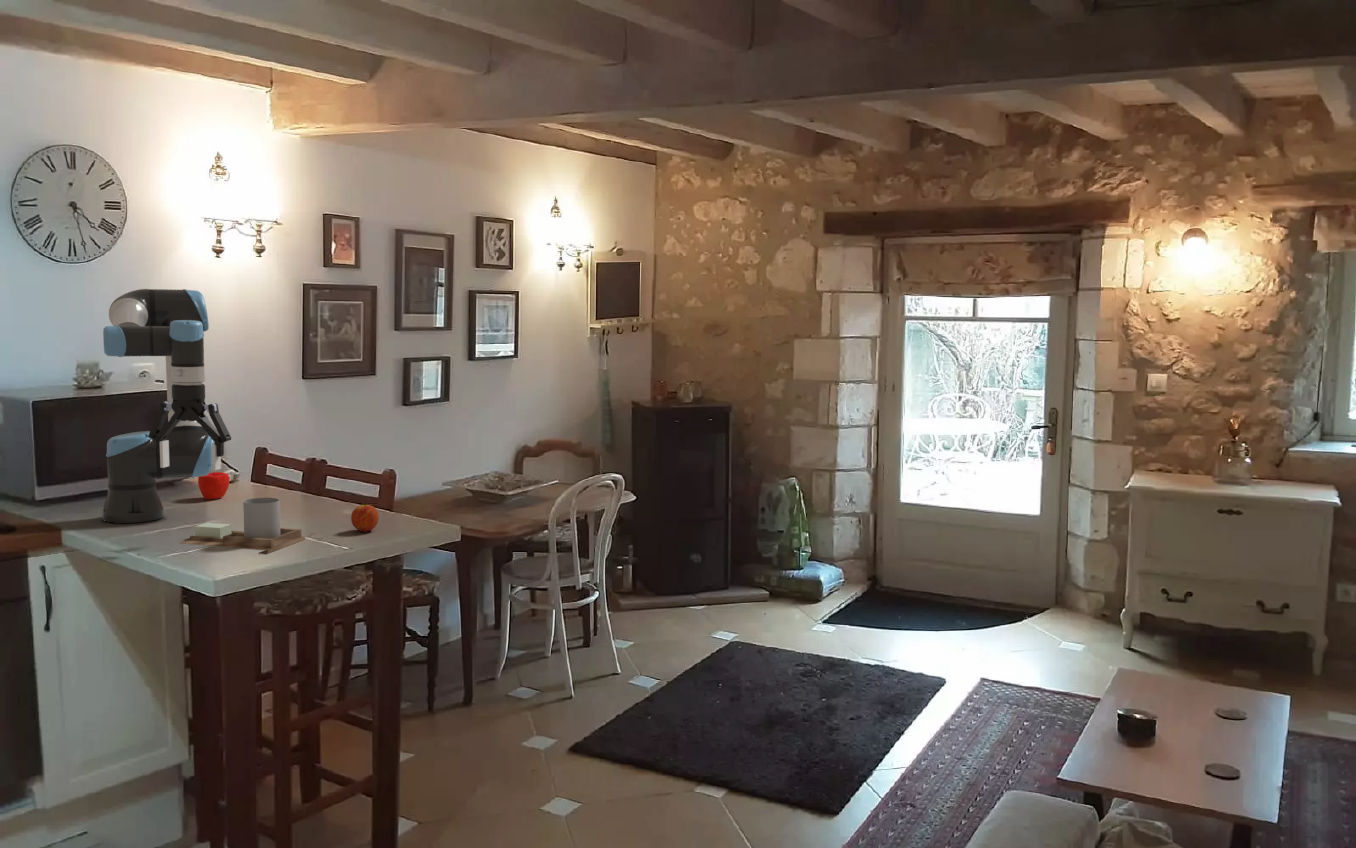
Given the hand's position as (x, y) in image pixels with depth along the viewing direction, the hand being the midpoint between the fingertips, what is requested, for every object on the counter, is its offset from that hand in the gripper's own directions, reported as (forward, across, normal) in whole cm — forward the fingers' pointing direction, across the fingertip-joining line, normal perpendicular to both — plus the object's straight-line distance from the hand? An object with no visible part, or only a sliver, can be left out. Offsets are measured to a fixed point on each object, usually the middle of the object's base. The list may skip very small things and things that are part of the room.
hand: (190, 468), depth 270 cm
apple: (+20, -23, +52) cm, 60 cm away
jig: (+18, +15, -3) cm, 23 cm away
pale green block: (+17, +6, -2) cm, 18 cm away
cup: (+17, +20, -3) cm, 26 cm away
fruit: (+18, +38, +16) cm, 45 cm away
